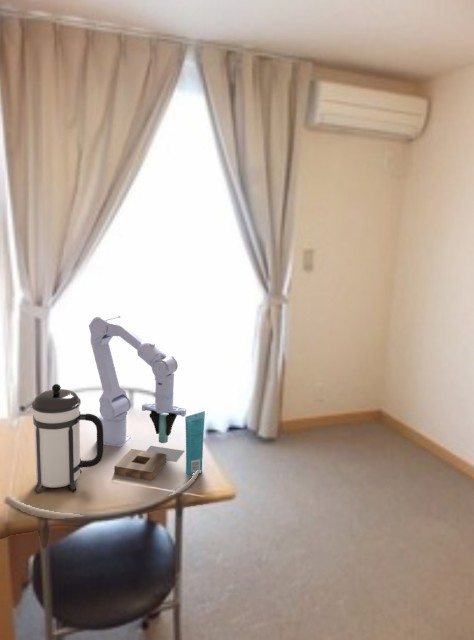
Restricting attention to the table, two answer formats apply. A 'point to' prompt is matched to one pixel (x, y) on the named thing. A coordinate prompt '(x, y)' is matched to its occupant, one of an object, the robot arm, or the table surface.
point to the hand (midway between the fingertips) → (163, 433)
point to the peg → (162, 428)
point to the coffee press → (60, 438)
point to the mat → (167, 452)
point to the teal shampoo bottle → (194, 442)
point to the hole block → (140, 464)
